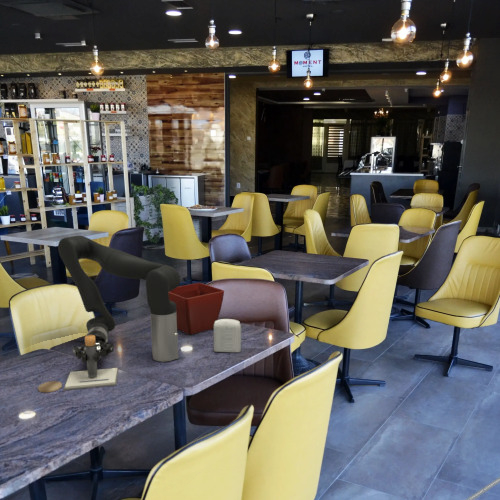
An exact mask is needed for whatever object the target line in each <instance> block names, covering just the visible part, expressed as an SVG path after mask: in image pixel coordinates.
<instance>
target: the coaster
mask: <svg viewBox="0 0 500 500" xmlns="http://www.w3.org/2000/svg"><path fill="white" fill-rule="evenodd" d="M62 387H63V384H62V382H61V381H57V380H54V381H53V380H52V381H51V380H50V381H46V382H43V383H41V384H40V385H39V386H38V388H37V389H38V392H40V393H44V394H45V393H47V394H49V393H53V392H56V391H58V390H61V388H62Z"/></svg>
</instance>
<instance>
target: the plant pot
mask: <svg viewBox="0 0 500 500" xmlns="http://www.w3.org/2000/svg"><path fill="white" fill-rule="evenodd" d="M168 293H169V301H173V302H175V304H176V312H177V330H179V331H181V332H183V333H185V334H187V335H194V334H199V333H203V332H206V331H209V330H214V324H215V321H217V320H219V316H220V313H221V309H222V306H223V301H224V295H225V290H224V289H221V288H217V287H215V286H211V285H208V284H205V283H201V282H197V283H196V282H195V283H190V284H186V285H178V287H177V288H175V289H174V290H172V291H170V292H168Z"/></svg>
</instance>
